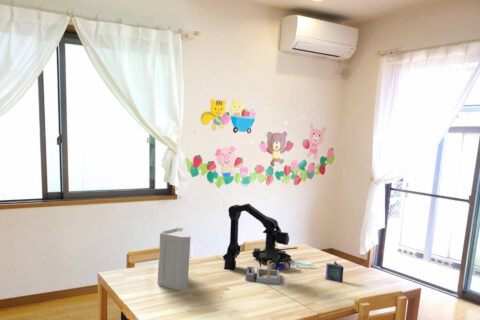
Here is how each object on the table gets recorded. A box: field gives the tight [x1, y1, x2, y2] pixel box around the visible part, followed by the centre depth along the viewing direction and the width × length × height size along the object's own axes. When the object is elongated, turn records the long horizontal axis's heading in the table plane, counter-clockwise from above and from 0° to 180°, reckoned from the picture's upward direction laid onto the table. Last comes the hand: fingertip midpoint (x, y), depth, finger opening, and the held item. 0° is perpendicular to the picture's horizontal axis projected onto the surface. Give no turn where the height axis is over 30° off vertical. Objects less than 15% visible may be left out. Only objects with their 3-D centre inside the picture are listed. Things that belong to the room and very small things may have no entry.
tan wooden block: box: [266, 263, 271, 278], centre depth 199 cm, size 1×6×8 cm, turn 177°
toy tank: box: [251, 247, 298, 266], centre depth 234 cm, size 12×34×10 cm, turn 118°
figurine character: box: [267, 256, 293, 270], centre depth 216 cm, size 7×8×15 cm
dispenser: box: [244, 266, 255, 282], centre depth 200 cm, size 5×12×5 cm, turn 176°
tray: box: [256, 267, 281, 285], centre depth 199 cm, size 13×14×3 cm
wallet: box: [324, 260, 344, 283], centre depth 204 cm, size 10×3×12 cm, turn 65°
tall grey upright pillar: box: [156, 226, 191, 291], centre depth 185 cm, size 19×15×28 cm
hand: (268, 267), depth 199 cm, fingers open, 9 cm apart
